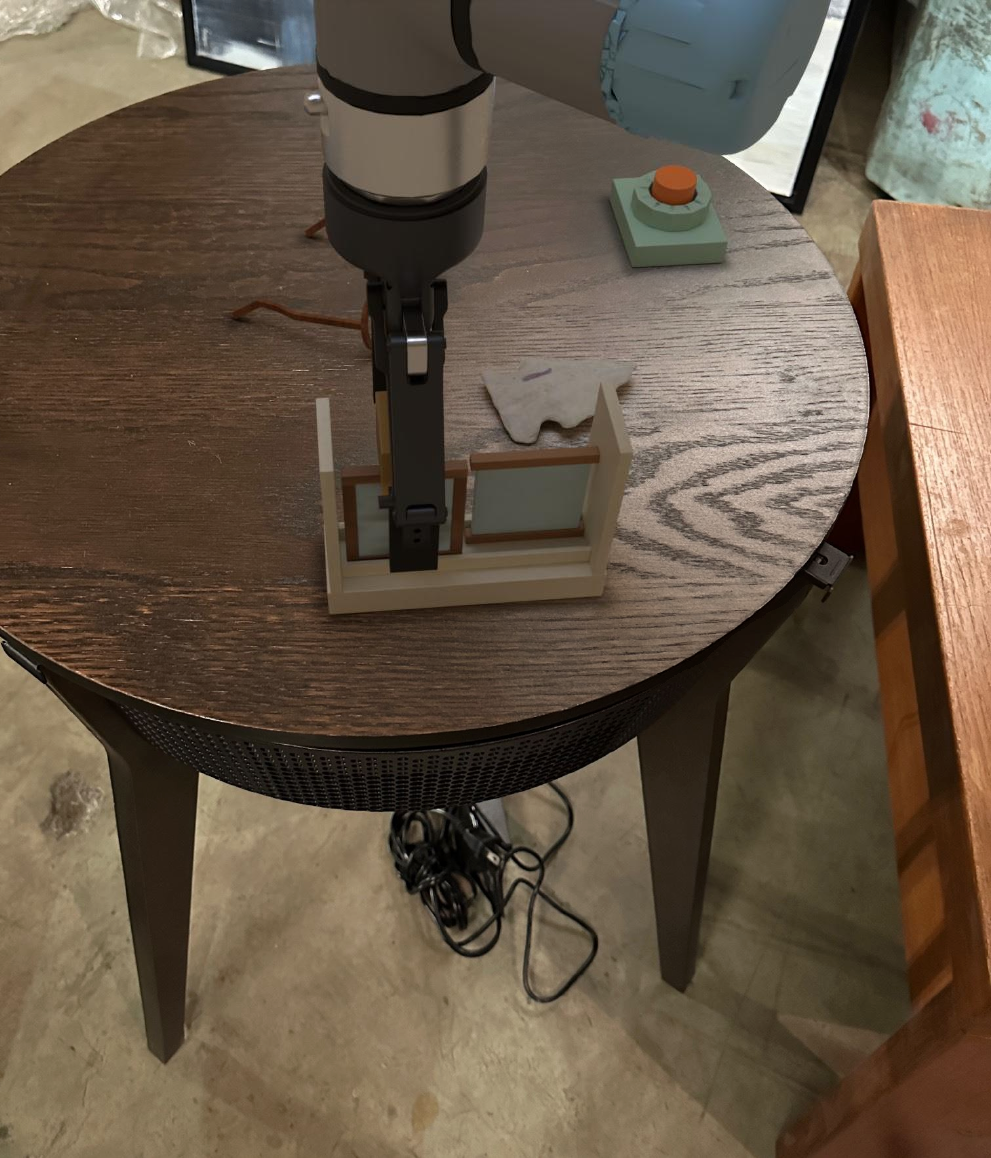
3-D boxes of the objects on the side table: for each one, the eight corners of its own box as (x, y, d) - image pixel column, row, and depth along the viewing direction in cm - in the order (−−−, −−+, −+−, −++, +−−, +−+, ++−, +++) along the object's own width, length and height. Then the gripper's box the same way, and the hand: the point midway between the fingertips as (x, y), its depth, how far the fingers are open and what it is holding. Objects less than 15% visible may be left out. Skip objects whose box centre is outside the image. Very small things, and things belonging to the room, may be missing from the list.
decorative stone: (475, 390, 88) (473, 364, 85) (610, 338, 89) (612, 311, 86) (519, 464, 83) (519, 439, 81) (661, 409, 84) (665, 382, 82)
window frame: (585, 527, 78) (616, 379, 67) (602, 596, 74) (637, 452, 63) (325, 544, 77) (312, 397, 66) (329, 614, 73) (316, 472, 62)
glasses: (372, 365, 88) (370, 316, 84) (231, 318, 91) (223, 268, 87) (440, 271, 95) (442, 222, 91) (307, 231, 99) (304, 182, 95)
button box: (694, 195, 102) (704, 155, 99) (722, 262, 96) (733, 223, 93) (609, 199, 101) (615, 160, 98) (631, 267, 95) (639, 228, 92)
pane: (457, 524, 75) (465, 385, 64) (465, 584, 72) (476, 447, 61) (344, 532, 74) (335, 393, 64) (348, 592, 71) (339, 456, 61)
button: (687, 181, 97) (691, 163, 95) (697, 206, 95) (701, 188, 93) (647, 183, 97) (650, 165, 95) (656, 208, 95) (660, 190, 93)
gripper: (311, 25, 57) (331, 342, 74) (334, 351, 42) (352, 654, 59) (456, 19, 57) (443, 336, 74) (529, 340, 42) (492, 645, 59)
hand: (403, 477), depth 67 cm, fingers open, 13 cm apart
